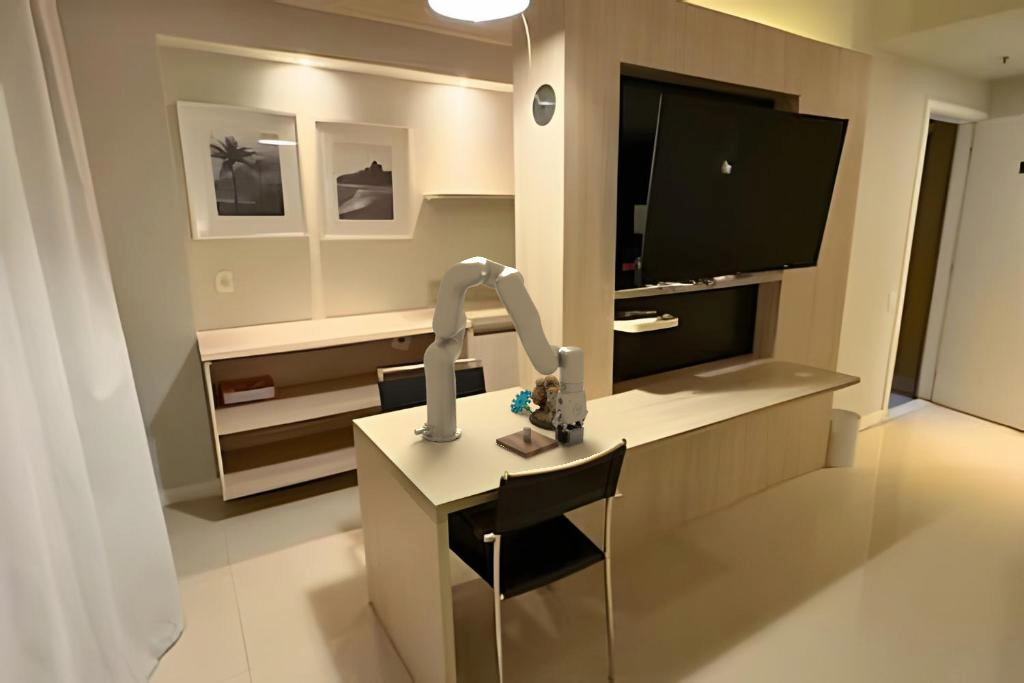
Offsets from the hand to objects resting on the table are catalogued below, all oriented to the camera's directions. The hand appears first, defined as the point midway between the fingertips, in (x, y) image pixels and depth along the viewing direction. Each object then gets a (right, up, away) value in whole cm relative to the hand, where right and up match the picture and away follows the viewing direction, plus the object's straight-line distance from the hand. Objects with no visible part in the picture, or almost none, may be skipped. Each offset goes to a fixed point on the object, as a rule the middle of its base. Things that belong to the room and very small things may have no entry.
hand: (569, 438), depth 178 cm
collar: (0, -1, 0) cm, 1 cm away
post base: (-14, -1, -2) cm, 14 cm away
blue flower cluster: (-15, +5, +28) cm, 32 cm away
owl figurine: (-6, +3, +17) cm, 19 cm away
